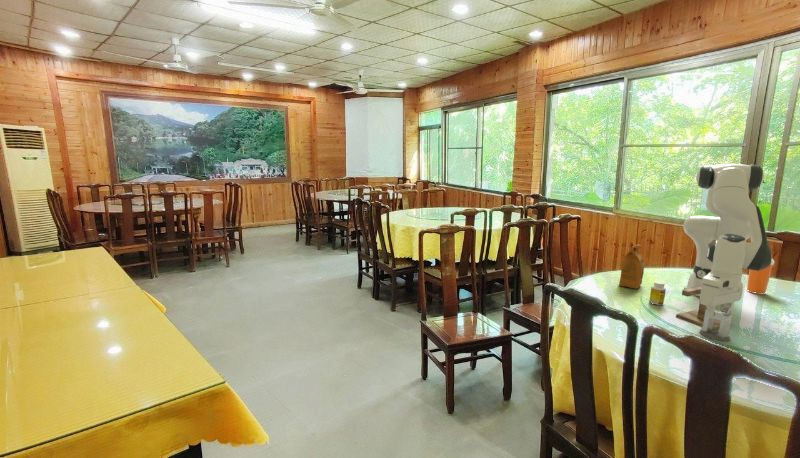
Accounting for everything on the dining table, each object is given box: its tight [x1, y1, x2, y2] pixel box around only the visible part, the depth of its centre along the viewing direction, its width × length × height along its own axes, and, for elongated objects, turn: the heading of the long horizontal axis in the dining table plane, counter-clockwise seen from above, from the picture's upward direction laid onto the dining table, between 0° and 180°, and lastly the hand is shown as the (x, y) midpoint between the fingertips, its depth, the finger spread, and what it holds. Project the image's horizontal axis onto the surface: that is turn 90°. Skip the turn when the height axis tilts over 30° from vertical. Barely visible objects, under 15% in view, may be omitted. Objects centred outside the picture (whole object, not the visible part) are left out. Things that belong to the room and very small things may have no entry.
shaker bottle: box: [746, 258, 775, 294], centre depth 197 cm, size 9×9×20 cm
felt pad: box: [698, 328, 731, 342], centre depth 146 cm, size 9×9×1 cm
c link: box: [701, 308, 733, 339], centre depth 145 cm, size 4×7×9 cm, turn 24°
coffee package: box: [618, 243, 645, 289], centre depth 201 cm, size 10×12×22 cm
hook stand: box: [675, 283, 721, 331], centre depth 156 cm, size 22×14×16 cm, turn 114°
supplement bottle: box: [648, 280, 667, 306], centre depth 177 cm, size 6×6×10 cm
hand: (718, 314), depth 145 cm, fingers open, 8 cm apart
